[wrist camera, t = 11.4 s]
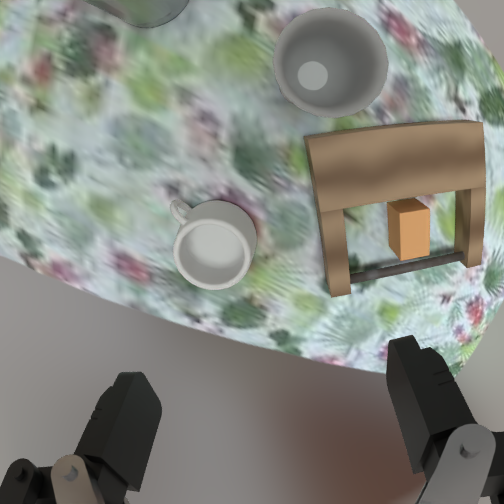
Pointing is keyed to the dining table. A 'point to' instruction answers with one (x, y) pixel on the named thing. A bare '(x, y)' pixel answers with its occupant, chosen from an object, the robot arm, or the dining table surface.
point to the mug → (213, 243)
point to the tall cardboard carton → (409, 228)
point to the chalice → (330, 62)
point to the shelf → (397, 186)
